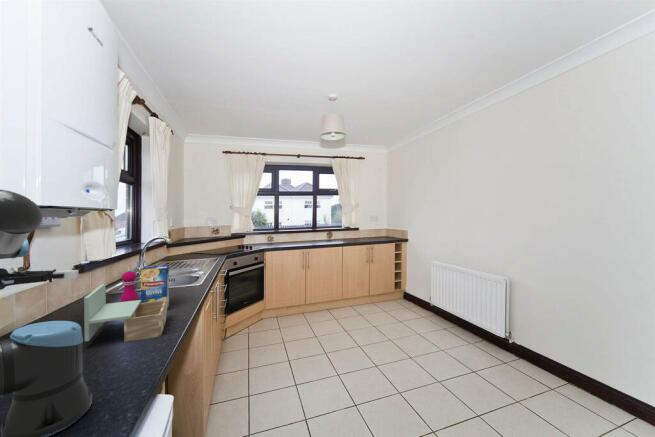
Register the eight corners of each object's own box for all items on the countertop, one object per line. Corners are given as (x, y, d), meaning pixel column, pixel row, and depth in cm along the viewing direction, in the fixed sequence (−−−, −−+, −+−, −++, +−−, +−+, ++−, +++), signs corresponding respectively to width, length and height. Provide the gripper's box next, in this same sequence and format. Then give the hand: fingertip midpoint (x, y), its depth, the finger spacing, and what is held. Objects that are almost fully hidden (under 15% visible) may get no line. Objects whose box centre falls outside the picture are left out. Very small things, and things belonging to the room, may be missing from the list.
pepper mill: (123, 305, 137) (123, 267, 136) (139, 303, 139) (139, 266, 139) (118, 310, 130) (117, 270, 129) (135, 308, 133) (135, 269, 132)
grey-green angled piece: (130, 334, 100) (130, 293, 100) (84, 341, 94) (84, 297, 94) (141, 315, 117) (141, 280, 116) (102, 321, 111) (102, 284, 110)
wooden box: (161, 336, 105) (161, 314, 105) (124, 342, 100) (124, 319, 99) (166, 319, 121) (166, 300, 121) (135, 323, 116) (134, 303, 115)
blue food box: (167, 311, 130) (167, 267, 130) (140, 314, 126) (140, 269, 125) (169, 306, 137) (168, 265, 136) (143, 309, 132) (143, 266, 131)
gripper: (0, 285, 95) (84, 279, 106) (-29, 296, 83) (69, 288, 94) (0, 265, 95) (84, 261, 106) (-30, 273, 83) (69, 267, 93)
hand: (77, 273), depth 100 cm, fingers closed
